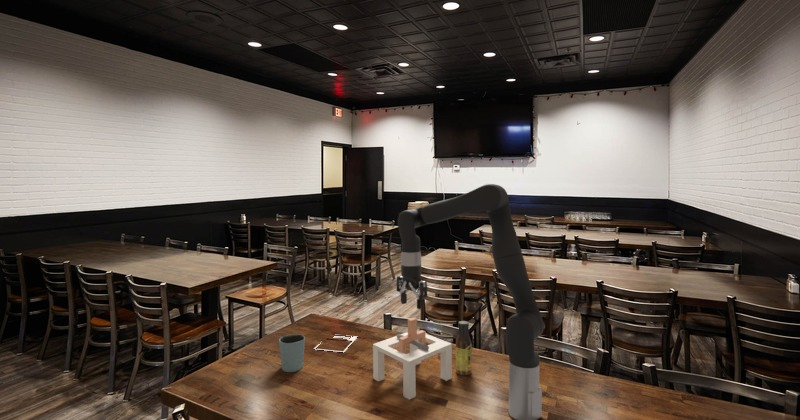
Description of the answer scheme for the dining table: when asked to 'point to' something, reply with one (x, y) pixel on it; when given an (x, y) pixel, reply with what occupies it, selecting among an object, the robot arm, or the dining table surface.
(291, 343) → the blue grey cup
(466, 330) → the sauce bottle
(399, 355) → the small white table
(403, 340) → the tan wooden branched piece
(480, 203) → the robot arm
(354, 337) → the white thin flat frame
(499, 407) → the dining table surface
